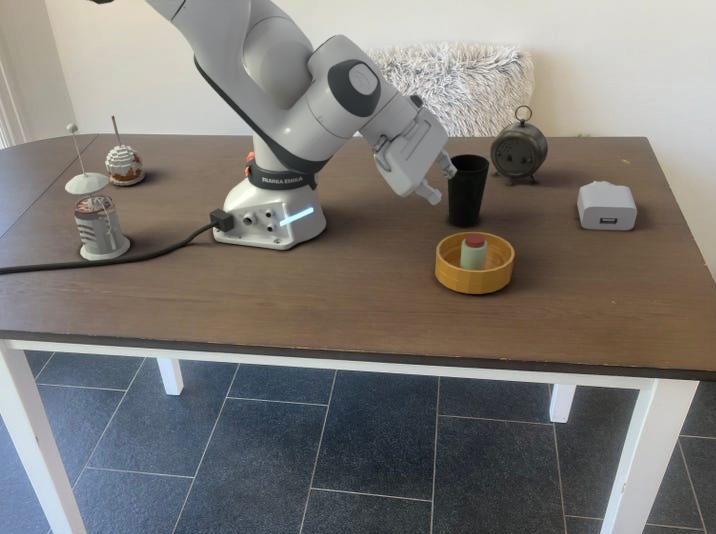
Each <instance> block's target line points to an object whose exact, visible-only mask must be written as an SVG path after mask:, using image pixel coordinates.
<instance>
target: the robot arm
mask: <svg viewBox="0 0 716 534" xmlns="http://www.w3.org/2000/svg"><path fill="white" fill-rule="evenodd" d="M86 1H87V2H91V3H95V4H97V5H105V4H111V3H113V2H114V1H115V0H86ZM144 2H145V3H147V4H148V5H149V6H150V7H151V8H152V9H153V10H154V11H155V12H157V14H159V15H160V16H161V17H162V18H164V19H165V20H166V21H168V22H169V23H170V24H171V25H172V26H173V27H175V28H176V29H177V30H178V31H179V32H180V33H181V35H182V36H183V38H185V40H186V41H187V43H188V45H189V46H190V48H191V50H192V52H193V64H194V66H195V68H196V69H197V71H198V73H199V74H200V75H201V77H202V78H203V79H204V81H205V82H206V83H207V84H208V85H209V86H210V87H211V88H212V89H213V90H214V92H216V94H218V96H219V97H220V98H221V99H222V100H223V101H224V102H225V103H226V104H227V105H228V106H229V107H230V108H231V109H232V110H233V111H234V113H236V114H237V115H238V116H239V117H240V118H241V119H242V120H243V121H244V122H245V123H246V124H247V126H249V127H250V128H251V134H252V142H253V151H250V152H249V154H248V156H247V158H246V164H245V170H244V172H245V178H244V179H242V180H241V181H240V182H239V183H237V185H235V186H234V187H233V188H232V189H231V190H230V191H229V192H228V194H227V196H226V198H225V200H224V203H223V208H222V209H221V208H216V209H214V210H213V211H211V212H209V219H210V220H209V221H210V223H209V224H206V225H204V226H202V227H201V228H198V229H197V230H195V231H194V232H193V233H191V234H190V235H189V236H188V237H187V238H185V239H183V240H182V241H180V242H178V243H176V244H173V245H170V246H168V247H165V248H162V249H157V250H155V251H151V252H147V253H143V254H137V255H136V254H135V255H129V256H121V257H120V256H118V257H115V258H110V259H101V260H80V261H68V262H67V261H66V262H56V263H55V262H52V263H39V264H28V265H16V266H6V267H0V274H1V273H10V272H21V271H33V270H34V271H35V270H45V269H59V268H72V267H73V268H74V267H84V266H97V265H105V264H106V265H107V264H115V263H123V262H133V261H139V260H144V259H149V258H152V257H157V256H160V255H164V254H167V253H171V252H173V251H175V250H177V249H179V248H182V247H184V246H186V245H187V244H189V243H191V242H192V241H193V240H194V239H195V238H196V237H197V236H199V235H201V234H203V233H204V232H206V231H209V230H210V229H212V230H213V231H212V233H213V237H214V239H215V241H216V242H218V243H224V244H232V245H240V246H248V247H255V248H264V249H271V250H280V251H286V250H289V249H291V248H292V247H294V246H295V245H297V244H299V243H302V242H303V243H304V242H305V241H308V240H311V239H313V238H316V237H317V236H319V235H320V234H321V233H322V232H323V231H324V230H325V228H326V226H327V220H326V217H325V214H324V212H323V207H322V205H321V201H320V196H319V191H318V184H319V173H320V172H321V171H322V170H323V169H324V167H325V166H326V165H327V164H328V163H329V161H331V159H332V158H333V157H334V155H335V154H336V153H337V152H338V151H339V150H341V148H342V147H344V145H345V144H346V143H348V141H349V140H350V139H352V138H353V137H354V135H355V134H356V133H357V132H358V134H360V135H361V137H363V139H364V140H365V141H366V142H367V143H368V145H370V146H371V151H372V154H373V160H374V161H375V166H376V168H377V170H378V172H379V174H380V175H381V176H382V177H383V179H384V181H386V183H387V184H388V185H389V187H390V188H391V190H393V191H394V193H395V194H396V195H397V196H398V197H401V198H406V197H408V196H409V195H410V194H412V193H413V192H414V193H415V194H416V195H417V196H420V197H422V198H423V199H426V200H427V201H428V202H429V203H430V205H432V206H436V205H437V204H438V203H440V202H441V200H442V198H443V194H442V192H441V191H440V190H439V189H438V188H435V189H434V188H433V187H432V186H430V184H429V182H428V180H426V178H425V177H426V175H427V174H428V173H429V171H430V169H431V168H432V166H433V165H434V163H438V165H439V167H440V169H441V174H442V175H443V177H445V178H446V180H448V179H451V178H452V177H454V176H455V174H456V172H457V169H456V168H455V167H454V165H453V164H452V163H451V160H450V159H451V158H450V155H449V153H448V152H447V151H446V149H445V148H444V147H445V145H446V144H447V142H448V141H449V138H450V137H449V134H448V132H447V129H446V128H445V127H444V125H443V124H442V123H441V122H440V121H439V119H438V118H437V116H436V115H435V114H434V113H433V112H432V111H431V110H430V109H429V108H428V107H427V106H424V105H425V100H424V98H423V97H422V96H421V95H420V94H419V93H412V94H404V95H403V94H402V93H401V91H400V90H399V89H398V88H397V87H395V86H393V85H392V84H390V82H388V80H387V79H386V78H385V76H384V74H383V72H382V70H381V68H380V67H379V66H378V65H377V64H376V63H375V62H374V60H373V59H372V58H371V57H370V56H369V55H368V54H367V53H366V52H365V51H364V50H362V48H361V47H360V46H358V45H357V43H355V42H354V41H353V40H351V39H350V38H349V37H348V36H346V35H344V34H342V33H341V34H336V35H332V36H331V37H329V38H328V39H326V40H325V41H324V42H323V43H321V44H320V45H319V46H318V47H317V48H316V49H314V46H313V44H312V42H311V40H310V39H309V38H308V36H307V35H306V34H305V33H304V31H303V30H302V29H301V28H300V27H299V26H298V24H297V23H296V22H295V21H294V20H293V18H292V17H291V16H290V15H289V14H288V13H286V11H284V10H283V9H281V8H280V6H278V5H277V4H276V3H275V2H274V1H272V0H144ZM246 69H247V70H246Z"/></svg>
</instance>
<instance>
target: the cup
mask: <svg viewBox="0 0 716 534" xmlns="http://www.w3.org/2000/svg"><path fill="white" fill-rule="evenodd" d="M450 160H451V163H452V164H453V165H454V167H455V168H456V169H457V172H456V174H455V176H454V177H452V178H451V179H447V198H448V199H447V201H448V202H447V203H448V204H447V205H448V222H449V224H451V225H452V226H454V227H458V228H471V227H473V226H476V225H477V224H478V222H479V218H480V213H481V207H482V203H483V197H484V192H485V188H486V183H487V179H488V173H489V169H490V161H489V160H488V159H487V158H486V157H484V156H481V155H477V154H471V153H470V154H467V153H466V154H464V153H463V154H458V155H454V156H452V157H451V158H450Z"/></svg>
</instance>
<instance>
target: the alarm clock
mask: <svg viewBox="0 0 716 534" xmlns="http://www.w3.org/2000/svg"><path fill="white" fill-rule="evenodd" d="M521 108H527V109H528V110H529V117H528V118H527V119H525V118H521V119H520V118H519V117H518V114H517V113H518V110H519V109H521ZM514 116H515V118H516V120H517V122H513V123H509V124H508V125H505V126H504V127H503V128H502V129H501V131H500V132H499V133H498V134H497V135H496V136H495V138H494V139H493V140H492V143H491V146H490V148H489V149H490V151H489V155H490V160H491V163H492V165H493V167H494V168H495V169H496V171H495V172H494V175H495V176H496V175H498V174H499V173H500V175H503V176H504V177H505V178H508V182H507V184H508V185H509V186H511V185H512V184H513V180H524V179H527V178H530V179H531V180H532V182H533V184H536V183H537V180H536V177H535V174H536V173H537V172H538V171H539V169H540V168H541V167H542V165H543V164H544V163H545V161H546V159H547V156H548V152H549V147H548V145H549V144H548V141H547V139H546V137H545V134H544V133H543V132H542V131H541V130H540V129H539V128H538V127H537V126H535V125H533V124H531V123H528V121H529V120H531V118H532V116H533V110H532V108H531V107H530V106H529V105H526V104H521V105H519V106H518V107H516V108H515V111H514Z"/></svg>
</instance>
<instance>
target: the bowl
mask: <svg viewBox="0 0 716 534" xmlns="http://www.w3.org/2000/svg"><path fill="white" fill-rule="evenodd" d="M473 233H476V234H481V235H483V236H484V237H485V241H486V242H487V252H486V260H485V269H484V270H467V269H462V268H460V260H461V249H462V241H463V240H464V239H465V238H466V236H467V235H469V234H473ZM435 249H436V251H435V264H434V265H435V266H434V272H435V273H434V275H435V278H436V279H437V280H438V282H439V283H441V284H442V285H443V286H444V287H446V288H447V289H450V290H453V291H455V292H457V293H464V294H472V295H477V294H478V295H481V294H489V293H494V292H496V291H500V290H501V289H503V288H505V287H506V286H507V285H508V284H509V283H510V281H511V279H512V276H513V269H514V262H515V255H516V254H515V248H514V247H513V245H511V243H510V242H509V241H507V240H506V239H504V238H503V237H501V236H498V235H496V234H492V233H488V232H483V231H463V232H457V233H454V234H451V235H447V236H446V237H445V238H443V239H442V240H440V241H439V243H438V244H437V246H436V248H435Z"/></svg>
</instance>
